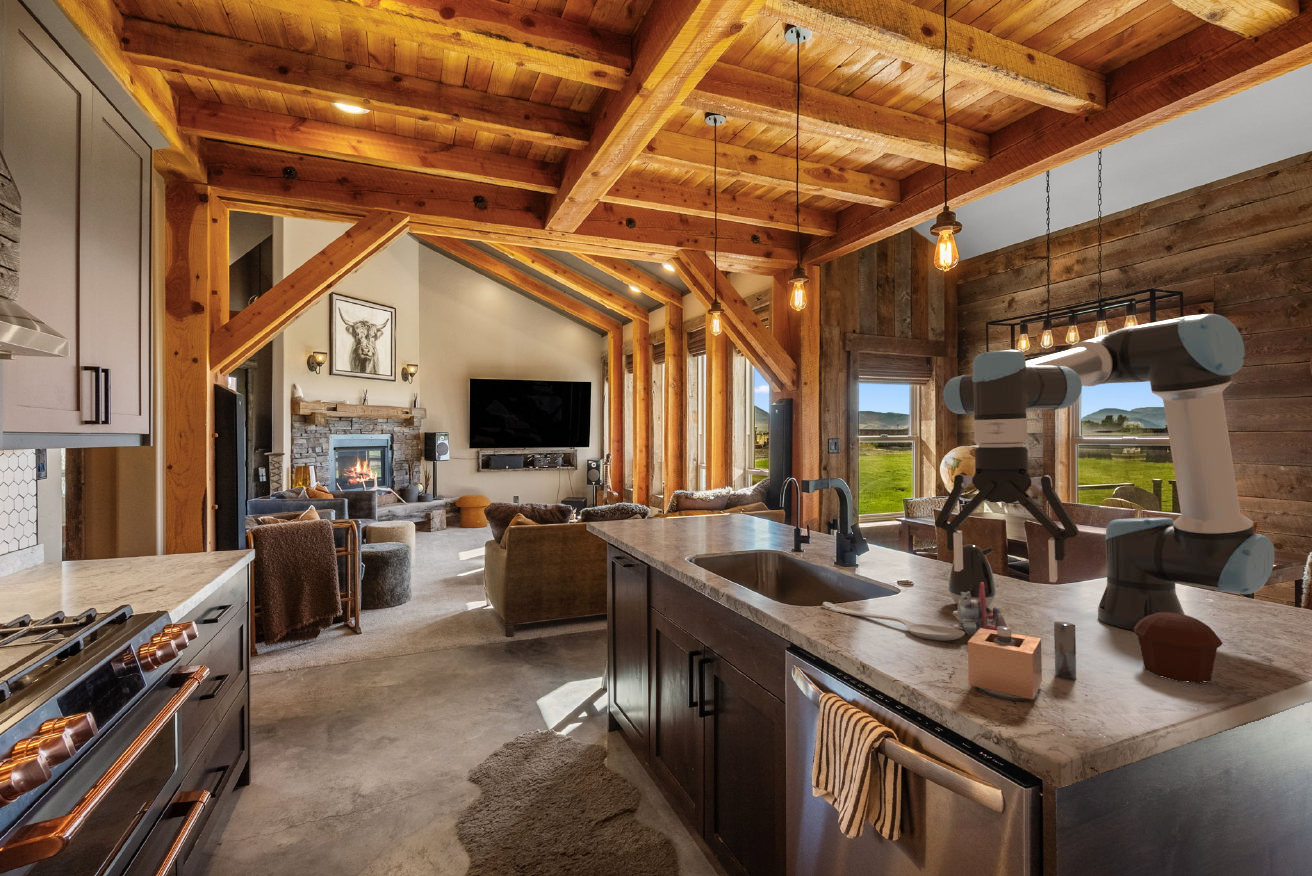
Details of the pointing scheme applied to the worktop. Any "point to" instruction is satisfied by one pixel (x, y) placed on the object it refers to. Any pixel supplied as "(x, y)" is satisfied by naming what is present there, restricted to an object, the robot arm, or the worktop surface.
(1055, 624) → the stand rod
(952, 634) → the spoon
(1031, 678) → the collar
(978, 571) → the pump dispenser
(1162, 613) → the muffin
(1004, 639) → the cylinder
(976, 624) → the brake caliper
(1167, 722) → the worktop surface
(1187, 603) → the worktop surface
